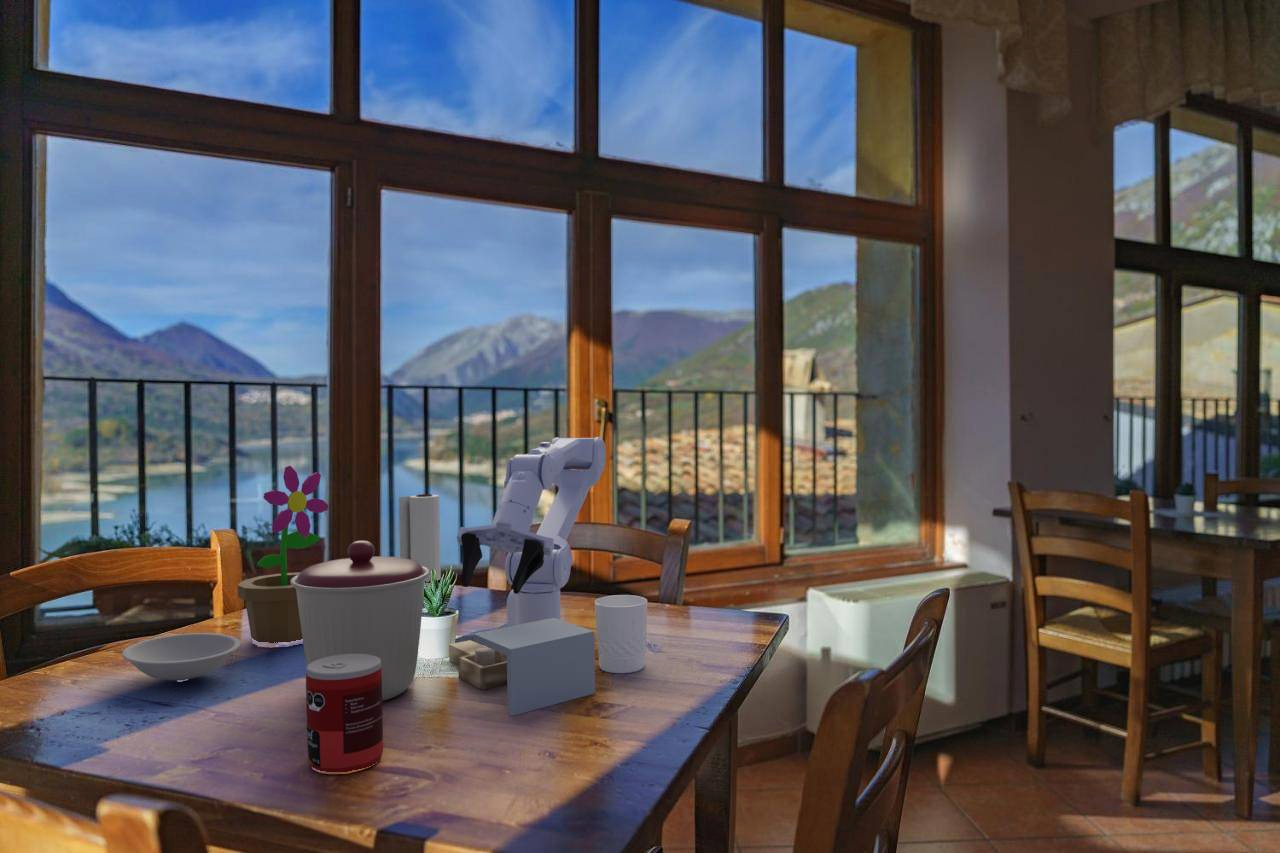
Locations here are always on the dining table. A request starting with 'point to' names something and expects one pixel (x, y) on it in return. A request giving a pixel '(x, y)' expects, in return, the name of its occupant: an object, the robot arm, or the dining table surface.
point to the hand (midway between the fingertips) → (489, 586)
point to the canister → (364, 611)
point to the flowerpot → (282, 565)
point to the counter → (544, 662)
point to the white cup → (621, 632)
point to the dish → (181, 655)
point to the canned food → (344, 712)
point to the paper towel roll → (420, 531)
